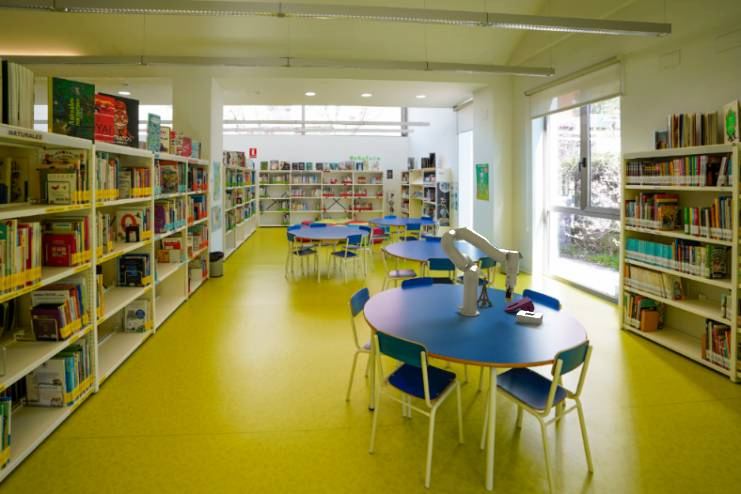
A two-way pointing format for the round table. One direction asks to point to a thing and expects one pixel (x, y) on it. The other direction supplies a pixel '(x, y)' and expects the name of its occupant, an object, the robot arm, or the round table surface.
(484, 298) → the eiffel tower
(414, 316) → the round table surface
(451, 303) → the round table surface
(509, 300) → the wedge pin
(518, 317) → the collar block
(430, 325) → the round table surface
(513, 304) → the maroon shoe
